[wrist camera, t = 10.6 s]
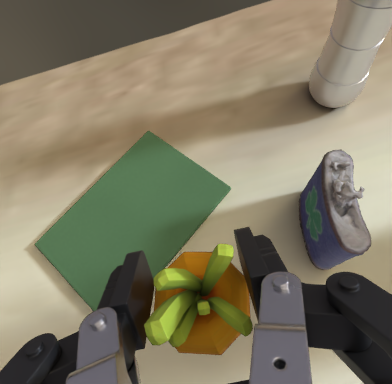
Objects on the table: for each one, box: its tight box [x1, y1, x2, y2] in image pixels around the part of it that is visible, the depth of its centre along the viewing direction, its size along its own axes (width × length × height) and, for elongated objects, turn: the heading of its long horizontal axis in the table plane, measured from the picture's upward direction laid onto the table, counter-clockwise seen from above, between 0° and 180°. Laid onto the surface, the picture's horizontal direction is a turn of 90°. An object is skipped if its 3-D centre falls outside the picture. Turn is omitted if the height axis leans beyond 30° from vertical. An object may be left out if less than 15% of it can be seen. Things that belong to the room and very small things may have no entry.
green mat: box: [35, 131, 231, 311], centre depth 33 cm, size 14×20×1 cm
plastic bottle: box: [309, 0, 392, 108], centre depth 28 cm, size 6×7×20 cm
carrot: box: [144, 244, 253, 355], centre depth 16 cm, size 5×5×15 cm
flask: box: [299, 150, 371, 270], centre depth 26 cm, size 9×3×11 cm, turn 0°
